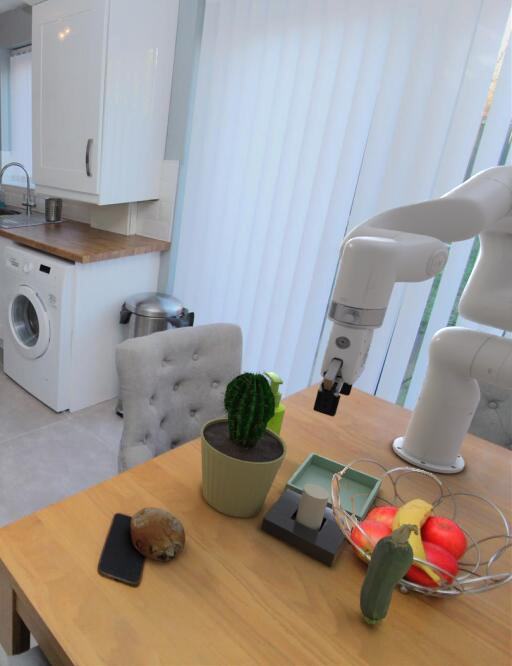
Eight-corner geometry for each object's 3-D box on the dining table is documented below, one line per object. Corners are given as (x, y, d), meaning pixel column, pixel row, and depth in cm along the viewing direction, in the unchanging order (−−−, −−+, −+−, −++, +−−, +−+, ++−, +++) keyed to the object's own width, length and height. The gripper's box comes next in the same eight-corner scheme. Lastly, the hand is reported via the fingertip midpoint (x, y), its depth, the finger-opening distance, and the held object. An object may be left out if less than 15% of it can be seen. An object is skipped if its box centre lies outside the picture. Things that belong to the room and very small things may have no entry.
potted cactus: (277, 489, 102) (306, 363, 91) (267, 537, 91) (299, 399, 79) (201, 464, 111) (220, 346, 99) (183, 505, 99) (202, 377, 88)
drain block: (284, 499, 100) (287, 488, 98) (351, 531, 91) (355, 519, 90) (260, 529, 92) (263, 517, 91) (331, 567, 84) (334, 554, 83)
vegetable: (346, 606, 77) (379, 508, 70) (371, 603, 78) (407, 506, 70) (368, 632, 73) (405, 532, 66) (395, 629, 74) (435, 529, 66)
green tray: (308, 462, 110) (311, 451, 109) (378, 491, 101) (382, 479, 100) (283, 494, 101) (286, 483, 100) (357, 529, 92) (361, 517, 91)
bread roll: (181, 549, 93) (185, 507, 93) (185, 571, 83) (189, 524, 84) (129, 537, 96) (133, 497, 96) (126, 557, 86) (131, 512, 87)
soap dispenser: (266, 442, 117) (282, 370, 110) (279, 460, 111) (296, 385, 104) (241, 442, 118) (255, 369, 111) (252, 459, 112) (267, 384, 104)
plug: (298, 519, 94) (308, 481, 91) (321, 531, 92) (332, 491, 88) (290, 530, 92) (300, 491, 88) (313, 542, 89) (325, 502, 86)
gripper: (371, 333, 71) (343, 430, 78) (394, 305, 82) (368, 392, 89) (314, 320, 76) (292, 413, 83) (343, 296, 87) (321, 379, 94)
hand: (331, 402), depth 86 cm, fingers open, 9 cm apart
